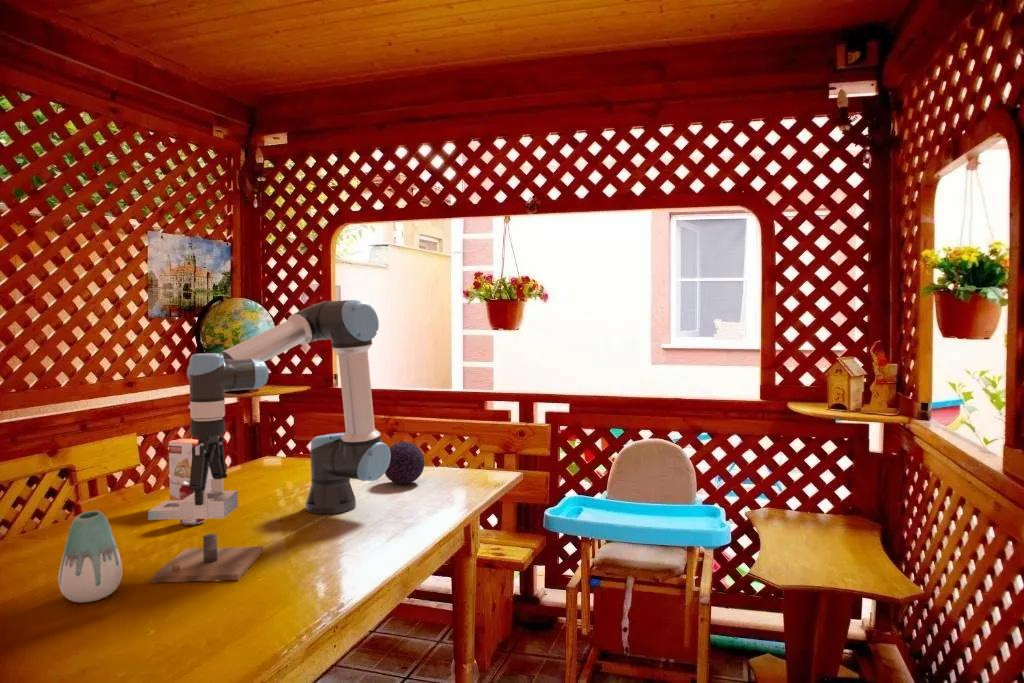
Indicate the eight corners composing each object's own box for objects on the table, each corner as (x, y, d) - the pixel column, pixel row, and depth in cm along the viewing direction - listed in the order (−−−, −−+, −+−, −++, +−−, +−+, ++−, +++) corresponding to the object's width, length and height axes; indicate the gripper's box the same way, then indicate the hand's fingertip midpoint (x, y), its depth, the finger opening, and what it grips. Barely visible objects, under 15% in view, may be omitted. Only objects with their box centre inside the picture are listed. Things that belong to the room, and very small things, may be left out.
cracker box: (168, 506, 218) (167, 440, 217) (183, 501, 224) (182, 437, 223) (203, 510, 213) (202, 443, 213) (218, 505, 219) (216, 440, 218)
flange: (238, 506, 169) (237, 490, 169) (223, 518, 159) (223, 501, 159) (166, 508, 168) (166, 491, 168) (147, 520, 158) (147, 502, 158)
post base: (262, 552, 175) (262, 523, 174) (238, 580, 156) (238, 547, 155) (185, 554, 173) (184, 524, 173) (151, 583, 154) (150, 550, 154)
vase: (76, 612, 139) (74, 524, 139) (48, 600, 145) (46, 516, 145) (133, 593, 149) (132, 510, 148) (105, 582, 155) (103, 503, 155)
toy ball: (374, 486, 243) (373, 444, 242) (396, 477, 257) (395, 437, 256) (411, 490, 237) (411, 447, 237) (432, 480, 251) (431, 439, 251)
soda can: (195, 527, 196) (194, 485, 196) (174, 526, 197) (173, 484, 197) (210, 520, 203) (209, 480, 202) (190, 519, 204) (189, 479, 204)
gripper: (208, 412, 174) (210, 499, 175) (171, 426, 152) (173, 526, 153) (239, 411, 175) (240, 499, 176) (206, 425, 152) (208, 525, 153)
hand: (209, 511), depth 164 cm, fingers closed on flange, 10 cm apart
